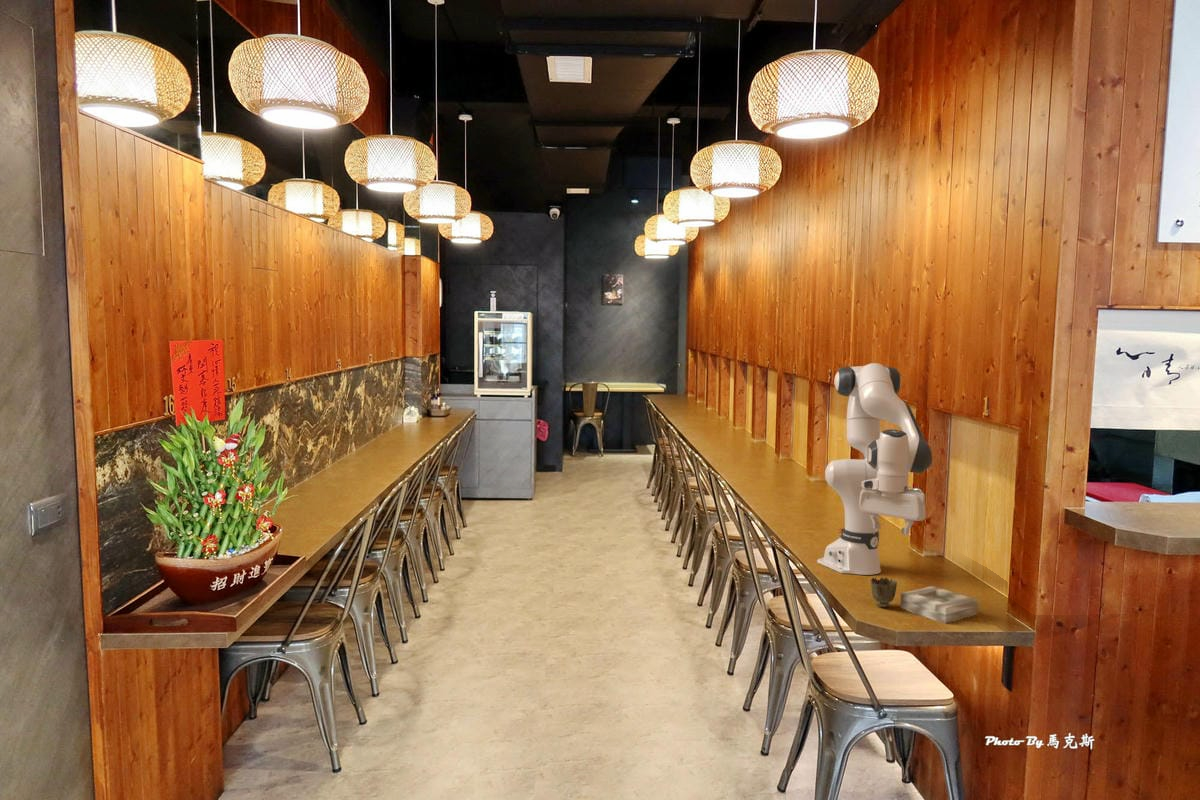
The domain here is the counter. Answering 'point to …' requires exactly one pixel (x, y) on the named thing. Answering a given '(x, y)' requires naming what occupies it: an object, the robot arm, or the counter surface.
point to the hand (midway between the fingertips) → (890, 531)
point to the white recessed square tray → (939, 604)
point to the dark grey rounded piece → (883, 591)
